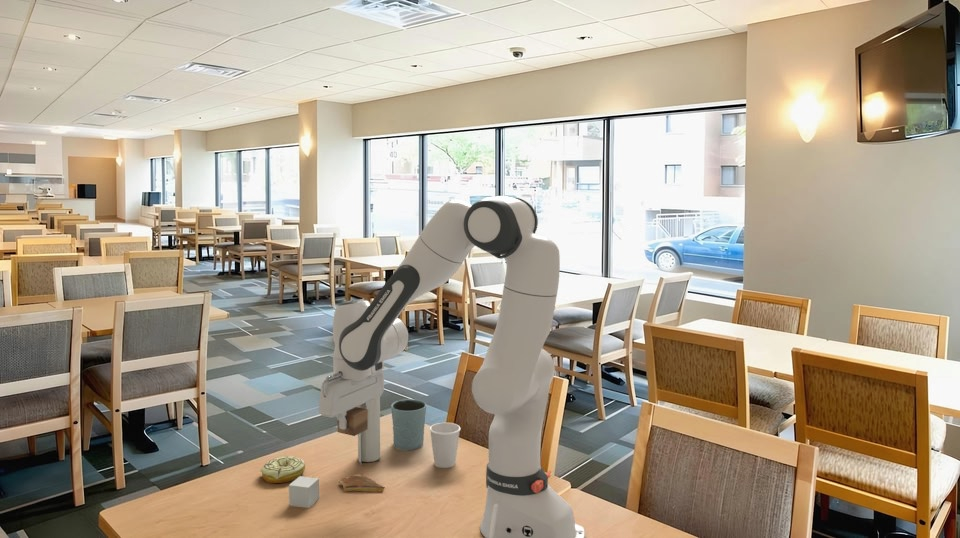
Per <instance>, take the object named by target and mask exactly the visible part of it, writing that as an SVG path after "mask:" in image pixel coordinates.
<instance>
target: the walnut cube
mask: <svg viewBox="0 0 960 538" xmlns="http://www.w3.org/2000/svg"><path fill="white" fill-rule="evenodd" d="M345 418H346V420H347V421H349V427H348V428H347V429H344V430H343V429H340V428H339V421H338V419H337V418H336V419H337V420H336V421H337V433H339V434H344V435H347V436H352V437H355V436H358V434H360V433H361V432H363V431H365V430H367V429H368V409H364V408H359V407H358V406H357V407H355V408H353V409H350V410H348V411H346V416H345Z"/></svg>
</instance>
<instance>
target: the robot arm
mask: <svg viewBox="0 0 960 538" xmlns="http://www.w3.org/2000/svg"><path fill="white" fill-rule="evenodd" d="M538 223H539V219H538V215H537V212H536V209H534V207H533V206H532V205H531V204H530V203H529V202H528V201H526V200H525V199H522V198H520V197H510V196H506V195H497V196H488V197H483V198H481V199H478V200H477V201H476V202H474V203H473V204H470V203H468V202H466V201H464V200H460V199H459V200H458V199H452V200H448V201H446V202H445V203H443V205H442V206H441V207H440V208H439V209H438V210H437V212H435V214H433V216H432V217H431V218H430V219H429V221H428V222H427V223H426V225H425V226H424V228H423V229H422V231H421V232H420V234H419V236H418V238H417V239H416V240H415V242H414V244H413V245H412V247H411V248H410V250H409V251H408V252H407V254H406V256H405V257H404V259H403V260H402V261H401V262H400V264H399V265H398V267H397V268H396V269H395V271H394V272H393V273H392V274H391V276H390V277H389V278H388V279H387V280H386V282H385V283H384V285H383V286H382V288H380V290H379V291H378V293H377V294H376V296H375V297H374V299H373V300H372V301H371V303H370V301H369V300H367V299H361V298H359V299H352V300H347V301H343V302H340V303H339V304H338V305H336V307H335V309H334V313H333V321H332V338H333V339H332V340H333V342H334V351H333V356H332V358H333V360H332V361H333V367H332V368H333V370H332V371H333V374H330V375H328V376H326V377H325V379H324V381H323V382H322V384H321V387H320V392H319V399H318V400H319V402H318V413H319V414H320V415H321V416H322V417H326V418H331V419H332V418H334V417H335V418H336V419H338V421H339V428H340V429H343V430H344V429H347V428H348V427H349V421H347V420H346V418H345V416H346V411H348V410H350V409H353V408H355V407H358V406H359V405H360V408H364V409H368V407H369V401H370V400H373V399H375V398H377V397H379V396H380V397H382V395H383V393H384V391H385V372H384V371H383V369H384V368H385V361H386V360H389V359H391V358H394V357H395V356H397V355H400V354H401V353H403V352H404V351H405V350H406V348H407V347H408V344H409V341H410V334H409V329H408V327H407V325H406V323H405V322H404V321H403V320H402V319H401V318H400V317H399V316H400V315H401V314H402V312H403V311H404V310H405V308H407V307H408V305H409V304H411V303H412V302H413V301H414V300H416V299H417V298H420V297H421V296H423V295H425V294H426V293H428V292H432V291H433V290H435V289H437V288H439V287H441V286H443V285H445V284H446V283H447V282H448V281H449V280H450V279H451V278H452V277H453V276H454V275H455V274H456V273H457V272H458V270H459V269H460V267H461V266H462V265H463V263H464V261H465V260H466V258H467V257H468V255H469V254H470V253H471V251H472V249H473V248H474V247H476V248H478V249H481V250H482V251H484V252H486V253H487V254H490V255H492V256H493V257H495V258H496V259H499V260H501V259H504V260H505V263H506V265H505V266H506V270H505V278H504V282H503V283H504V284H503V289H502V295H501V299H500V300H501V301H500V307H499V315H498V318H497V322H496V326H495V329H494V332H493V335H492V338H491V340H490V343H489V345H488V348H487V351H486V354H485V357H484V359H483V362H482V364H481V365H480V368H479V370H478V371H477V373H476V374H475V376H474V377H473V379H472V383H471V391H472V396H473V399H474V401H475V403H476V404H477V406H478V407H479V408H480V409H481V410H483V411H485V412H486V413H488V414H491V415H494V417H493V420H492V421H491V423H490V427H489V429H488V430H489V431H488V463H487V464H486V470H485V471H486V472H485V478H486V479H485V480H486V481H485V484H486V485H485V486H486V487H485V488H486V489H487V491H486V500H485V506H484V512H483V516H482V518H481V523H480V525H479V530H480V532H481V534H482V536H484V538H586V531H585V528H584V527H583V526H582V525H579V524H577V523H576V521H575V516H574V511H573V508H572V506H571V505H570V503H568V502H567V501H566V500H565V499H564V498H563V497H562V496H560V494H558V493H557V492H556V491H555V490H554V489H553V488H552V487H551V486H550V485H549V478H551V475H552V474H551V473H552V471H551V470H548V472H547V473H546V472H545V471H544V469H543V468H542V465H541V446H542V443H541V442H542V441H541V440H542V429H543V422H544V417H545V413H546V407H547V404H548V399H549V398H548V397H549V393H550V387H551V384H552V381H553V379H554V376H555V372H556V365H555V362H554V359H553V357H552V356H551V354H550V353H549V352H548V351H547V350H545V349H544V348H543V347H544V345H545V342H546V340H547V339H548V336H549V335H550V333H551V330H552V326H553V325H552V324H553V321H554V319H553V318H554V313H555V309H556V308H555V307H556V302H557V295H558V290H559V283H560V282H559V281H560V272H561V271H560V268H561V267H560V263H561V262H560V261H561V260H560V259H561V255H560V250H559V247H558V246H557V244H556V243H555V242H554V241H553V240H551V239H549V238H547V237H545V236H542V235H538V234H536V232H537V229H538Z"/></svg>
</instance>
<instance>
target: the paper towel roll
mask: <svg viewBox="0 0 960 538" xmlns="http://www.w3.org/2000/svg"><path fill="white" fill-rule="evenodd" d="M357 407H359V408H360V405H359V406H357ZM357 457H358V458H357V462H359V463H360V464H362V462H365V463H372V462H373V463H374V462H376V461H378V460H379V459H381V396H379V397H377V398H375V399H373V400H370V401H369V407H368V429H367V430H365V431H363V432H361V433H360V434H358V435H357Z"/></svg>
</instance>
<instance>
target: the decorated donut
mask: <svg viewBox="0 0 960 538" xmlns="http://www.w3.org/2000/svg"><path fill="white" fill-rule="evenodd" d="M305 463H306V461H304V459H302V458H300V457H296V456H292V455H284V456H278V457H275V458H273V459H270V460H269V461H267V462H266V463H265V464H264V465H263V466H262V467H261V469H260V472H261V475H262V478H263V480H264V481H265V482H266V483H268V484H269V483H270V484H283V483H287V482H291V481H292V482H293V481H294V480H296V479H297V478H298V477H299V476H302V475H303V474H304V472H305V469H306V464H305Z"/></svg>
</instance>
